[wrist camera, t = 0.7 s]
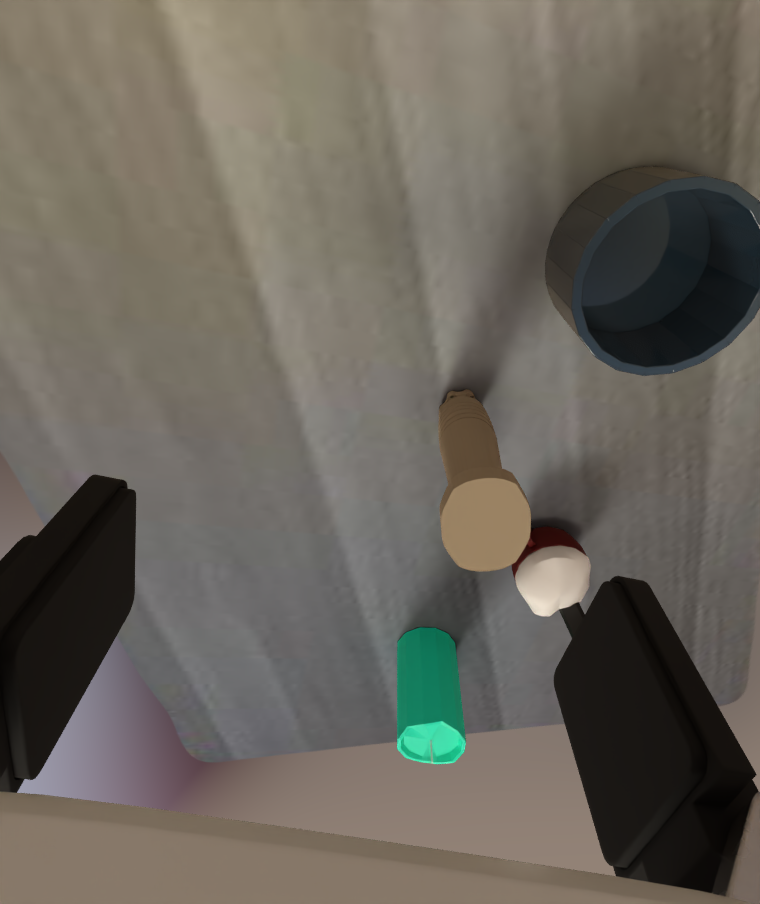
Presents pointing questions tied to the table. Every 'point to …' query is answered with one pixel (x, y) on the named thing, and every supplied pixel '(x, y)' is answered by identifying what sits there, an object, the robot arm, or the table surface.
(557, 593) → the cocoa
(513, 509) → the handle
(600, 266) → the crock
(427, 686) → the candle
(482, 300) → the table surface
